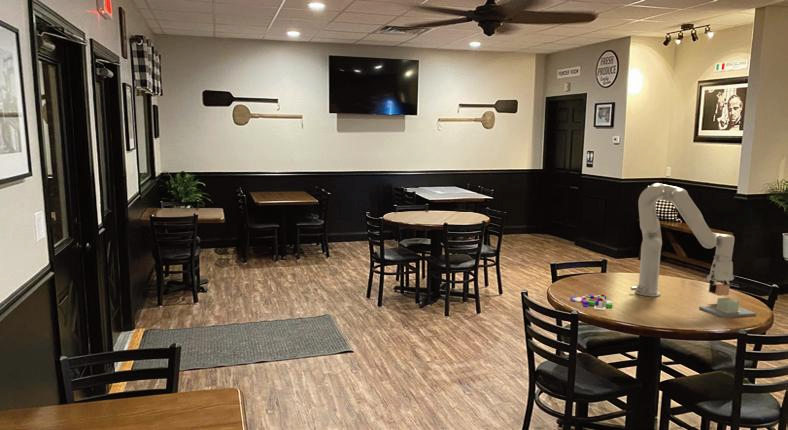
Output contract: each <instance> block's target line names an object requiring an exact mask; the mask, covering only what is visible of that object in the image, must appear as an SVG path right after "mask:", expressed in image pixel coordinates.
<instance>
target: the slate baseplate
mask: <svg viewBox="0 0 788 430" xmlns="http://www.w3.org/2000/svg"><path fill="white" fill-rule="evenodd" d="M698 309H699V310H700V311H703V312H706V313H709V314H711V315H713V316H716V317H717V318H736V317H737V318H738V317H741V316H742V317H755V316H757V312H754V311H751V310H749V309H747V308H743V307H740V306H739V307H738V311H735V312H726V311H723V310H721V309H718V308H717V305H706V306H705V305H704V306H699V307H698Z"/></svg>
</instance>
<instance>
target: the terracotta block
mask: <svg viewBox="0 0 788 430" xmlns="http://www.w3.org/2000/svg"><path fill="white" fill-rule="evenodd" d="M715 285H716V289H715V293H712V292H710V291H709V290H710V284H709V287H708V293H710V294H713V295H716V296H729V295H730V294H729V293H730V287H731V285H730V284H729V285H726V284H724V283H722V282H721V281H717V282H716V284H715Z"/></svg>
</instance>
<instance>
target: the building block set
mask: <svg viewBox="0 0 788 430" xmlns="http://www.w3.org/2000/svg"><path fill="white" fill-rule="evenodd" d="M569 301H571V302H574V303H575V302H578V303H582V306H583V307H584V308H588V307H589V306H592V305H594V307H593V311H595V310H596V311H604V312H605V311H606V307H608V308H609V309H613V304H614V303H613V301H612V300H607V296H606V294H598V295H593V294H591V293H588V294H585V295H584V296H583V295H582V297H579V296H578V297H577V296H575V295H574V296H571V297H570V300H569Z"/></svg>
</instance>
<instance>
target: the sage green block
mask: <svg viewBox="0 0 788 430" xmlns="http://www.w3.org/2000/svg"><path fill="white" fill-rule="evenodd" d="M716 303H717V304H716V306H717V308H718V309H721V310H723V311H726V312H735V311H738V307H740V301H739V300H736V299H734V298H730V297H718V298H717V302H716Z"/></svg>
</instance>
